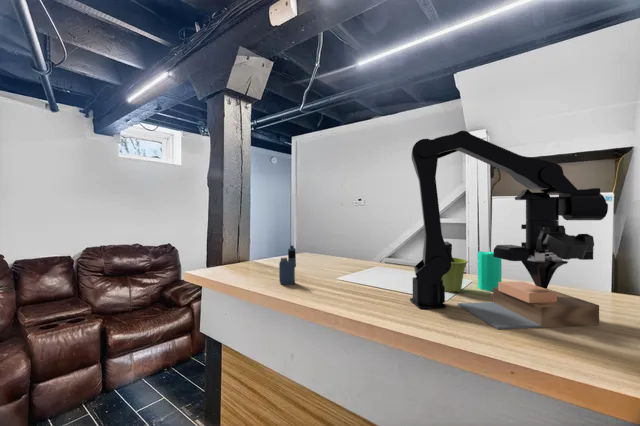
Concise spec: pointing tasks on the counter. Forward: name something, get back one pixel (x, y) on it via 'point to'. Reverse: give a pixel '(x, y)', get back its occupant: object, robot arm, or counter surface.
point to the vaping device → (288, 267)
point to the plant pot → (454, 275)
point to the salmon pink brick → (527, 292)
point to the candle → (488, 270)
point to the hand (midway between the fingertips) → (541, 291)
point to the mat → (498, 315)
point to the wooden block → (552, 310)
